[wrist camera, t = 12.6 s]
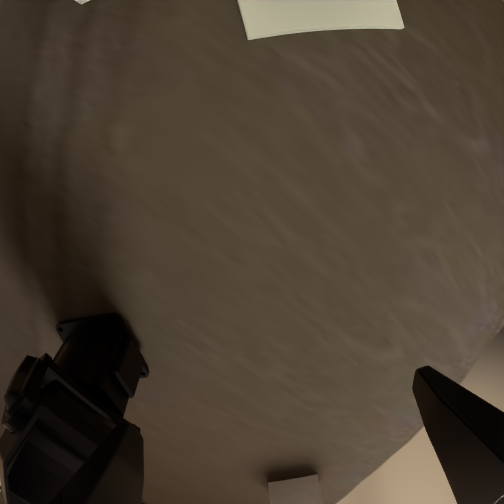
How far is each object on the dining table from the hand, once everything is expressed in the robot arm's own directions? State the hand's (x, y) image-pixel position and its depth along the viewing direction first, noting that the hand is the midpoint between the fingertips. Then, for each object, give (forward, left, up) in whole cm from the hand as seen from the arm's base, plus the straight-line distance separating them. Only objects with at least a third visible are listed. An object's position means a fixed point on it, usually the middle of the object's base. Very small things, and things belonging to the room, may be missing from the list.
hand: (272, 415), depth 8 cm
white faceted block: (-2, -36, -13) cm, 38 cm away
